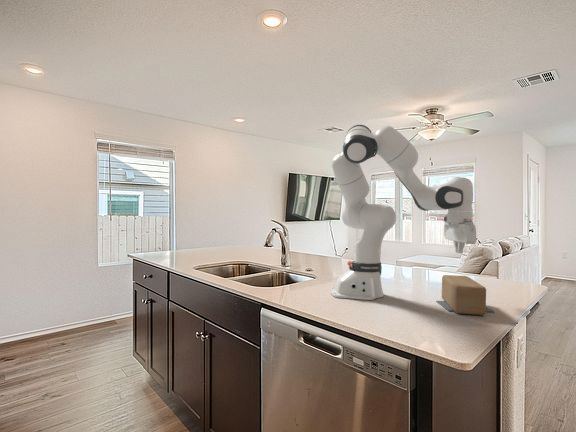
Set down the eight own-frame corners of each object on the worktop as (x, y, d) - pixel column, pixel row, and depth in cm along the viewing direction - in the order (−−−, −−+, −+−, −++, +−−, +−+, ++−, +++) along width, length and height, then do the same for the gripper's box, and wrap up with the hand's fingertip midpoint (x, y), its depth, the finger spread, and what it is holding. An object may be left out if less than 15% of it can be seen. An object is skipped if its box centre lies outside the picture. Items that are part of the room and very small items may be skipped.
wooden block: (467, 300, 134) (486, 316, 114) (440, 298, 136) (455, 314, 116) (468, 275, 134) (487, 287, 114) (441, 274, 136) (456, 285, 116)
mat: (449, 311, 121) (449, 310, 121) (436, 301, 133) (436, 300, 133) (494, 312, 120) (494, 311, 120) (477, 302, 132) (477, 301, 132)
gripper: (481, 219, 122) (480, 256, 122) (456, 217, 142) (455, 249, 142) (464, 219, 122) (463, 256, 122) (441, 217, 142) (440, 249, 143)
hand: (458, 252), depth 133 cm, fingers closed
